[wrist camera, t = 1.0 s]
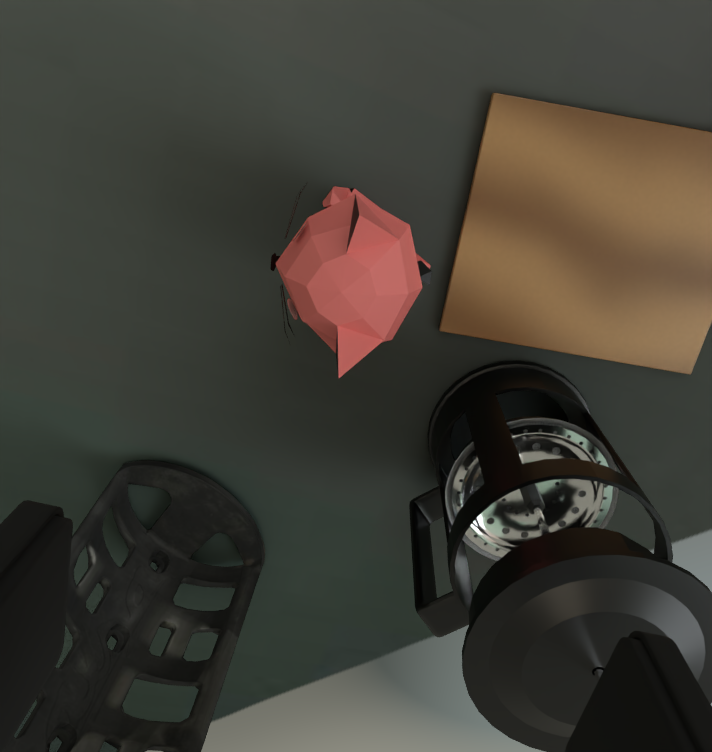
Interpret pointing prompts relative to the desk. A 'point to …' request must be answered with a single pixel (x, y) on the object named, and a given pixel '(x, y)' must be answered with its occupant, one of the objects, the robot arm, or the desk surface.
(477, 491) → the french press
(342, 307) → the cat figurine
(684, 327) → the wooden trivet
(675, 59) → the desk surface
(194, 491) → the holder
